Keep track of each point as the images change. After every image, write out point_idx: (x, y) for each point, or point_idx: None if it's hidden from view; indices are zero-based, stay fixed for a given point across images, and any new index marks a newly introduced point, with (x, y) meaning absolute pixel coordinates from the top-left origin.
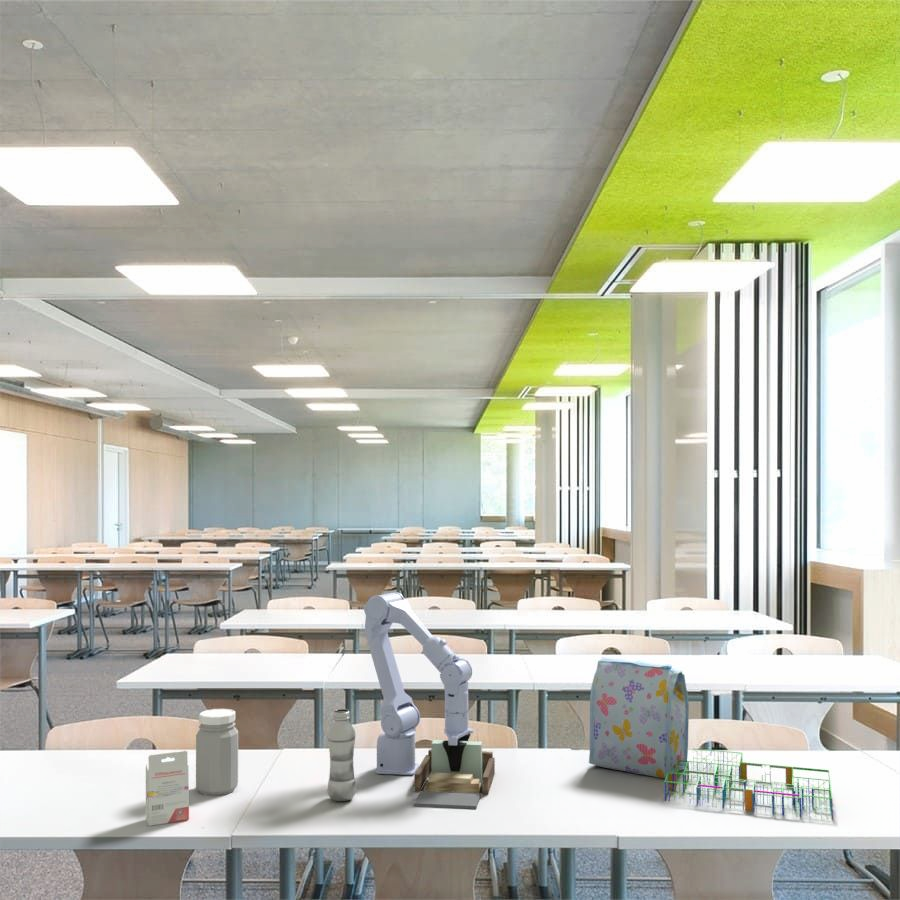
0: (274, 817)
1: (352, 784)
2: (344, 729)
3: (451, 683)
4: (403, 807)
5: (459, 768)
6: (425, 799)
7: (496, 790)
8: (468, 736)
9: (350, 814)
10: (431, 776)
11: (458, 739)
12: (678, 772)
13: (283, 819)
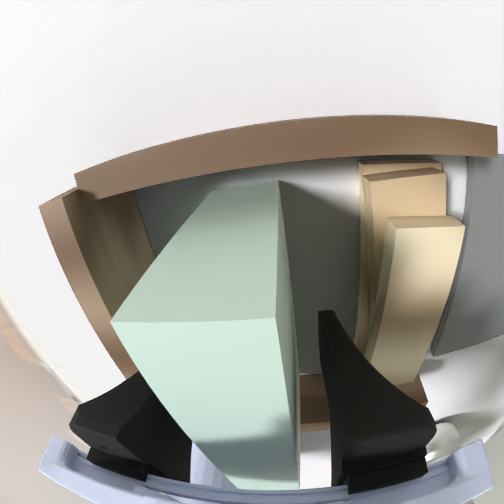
0: (469, 435)
1: (454, 442)
2: None
3: None
4: (500, 342)
5: (338, 320)
6: (493, 320)
7: (378, 80)
8: (125, 434)
9: (496, 390)
10: (414, 374)
11: (355, 488)
12: None
13: (479, 427)
